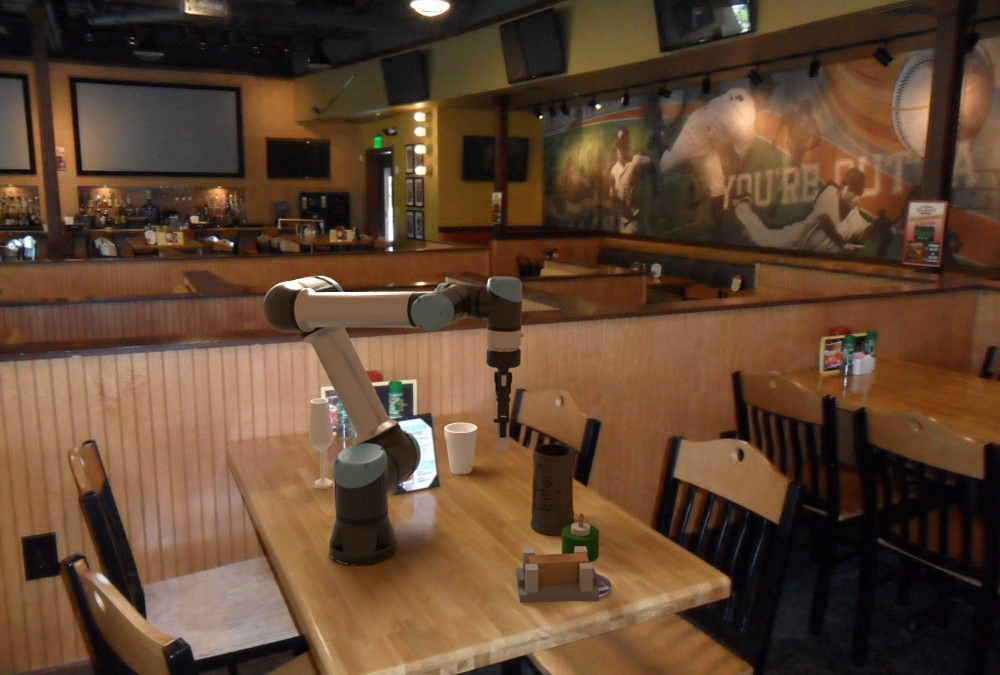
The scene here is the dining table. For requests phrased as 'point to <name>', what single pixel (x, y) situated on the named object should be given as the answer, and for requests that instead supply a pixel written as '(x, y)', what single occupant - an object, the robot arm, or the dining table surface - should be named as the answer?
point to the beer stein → (552, 488)
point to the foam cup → (461, 446)
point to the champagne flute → (320, 433)
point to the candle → (581, 538)
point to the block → (558, 568)
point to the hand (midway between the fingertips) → (501, 440)
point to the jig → (566, 592)
